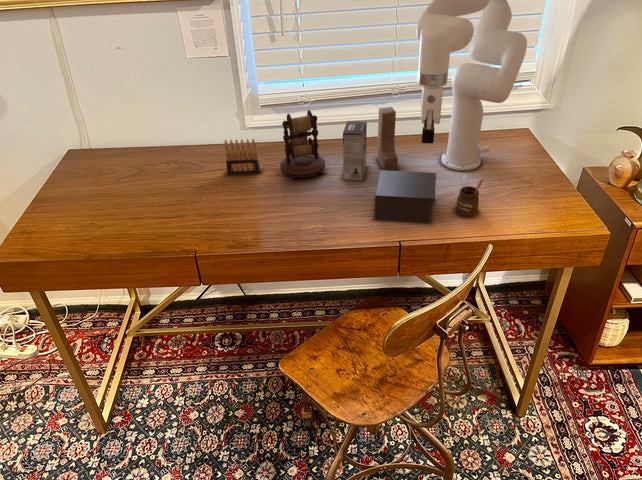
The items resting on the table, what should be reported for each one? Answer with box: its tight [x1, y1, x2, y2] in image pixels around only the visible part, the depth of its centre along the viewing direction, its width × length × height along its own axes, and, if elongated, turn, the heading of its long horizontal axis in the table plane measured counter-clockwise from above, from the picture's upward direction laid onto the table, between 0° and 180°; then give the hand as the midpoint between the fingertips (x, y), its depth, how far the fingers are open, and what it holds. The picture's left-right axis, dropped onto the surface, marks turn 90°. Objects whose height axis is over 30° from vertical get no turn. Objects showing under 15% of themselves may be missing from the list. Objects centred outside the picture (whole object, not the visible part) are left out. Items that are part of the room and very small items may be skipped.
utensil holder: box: [455, 174, 485, 218], centre depth 153 cm, size 6×6×12 cm
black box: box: [374, 197, 433, 224], centre depth 158 cm, size 15×14×7 cm
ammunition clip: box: [224, 138, 261, 176], centre depth 177 cm, size 11×2×12 cm, turn 90°
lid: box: [374, 169, 437, 202], centre depth 155 cm, size 16×14×1 cm
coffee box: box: [342, 120, 368, 181], centre depth 172 cm, size 9×6×16 cm
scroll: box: [279, 109, 326, 181], centre depth 174 cm, size 15×15×20 cm
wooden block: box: [376, 106, 399, 171], centre depth 175 cm, size 9×4×18 cm, turn 10°
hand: (427, 141), depth 152 cm, fingers closed
